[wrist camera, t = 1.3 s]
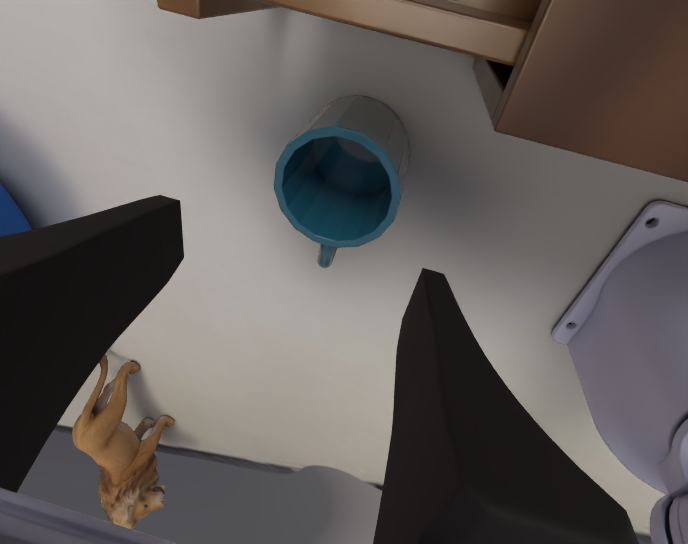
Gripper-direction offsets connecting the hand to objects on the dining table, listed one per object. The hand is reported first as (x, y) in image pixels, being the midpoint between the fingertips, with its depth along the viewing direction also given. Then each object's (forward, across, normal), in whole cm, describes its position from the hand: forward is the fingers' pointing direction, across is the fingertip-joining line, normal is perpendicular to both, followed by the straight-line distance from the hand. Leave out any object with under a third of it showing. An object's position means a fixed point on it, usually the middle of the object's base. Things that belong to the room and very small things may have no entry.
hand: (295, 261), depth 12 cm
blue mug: (+10, 0, 0) cm, 10 cm away
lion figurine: (+11, +14, +30) cm, 34 cm away
